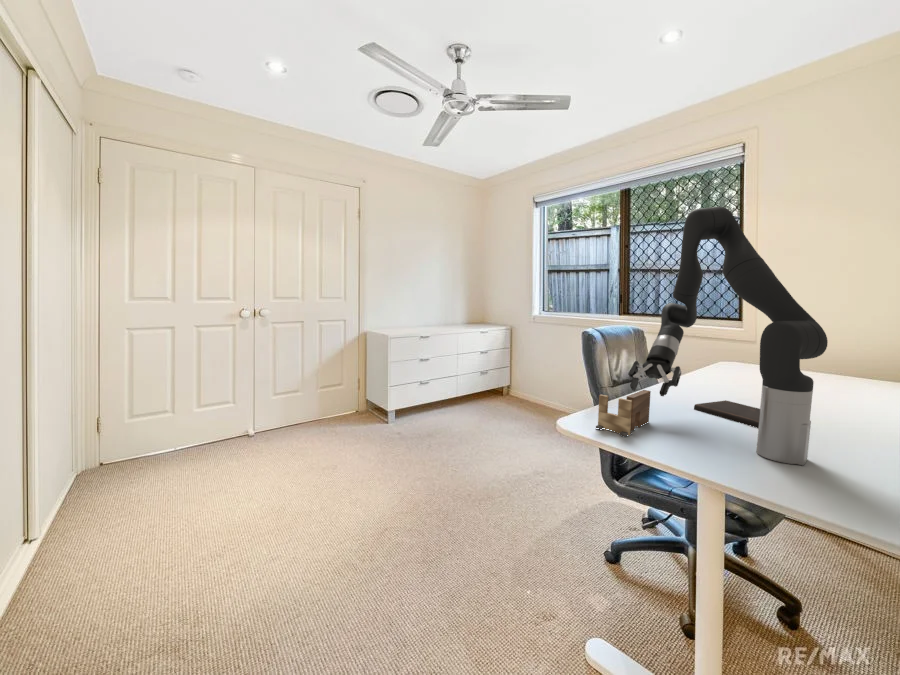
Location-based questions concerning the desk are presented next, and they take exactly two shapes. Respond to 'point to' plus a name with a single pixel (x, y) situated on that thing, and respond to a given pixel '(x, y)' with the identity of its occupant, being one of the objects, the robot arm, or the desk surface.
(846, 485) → the desk surface
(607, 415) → the oak upright
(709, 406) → the hardcover book
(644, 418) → the brown notched wooden panel
